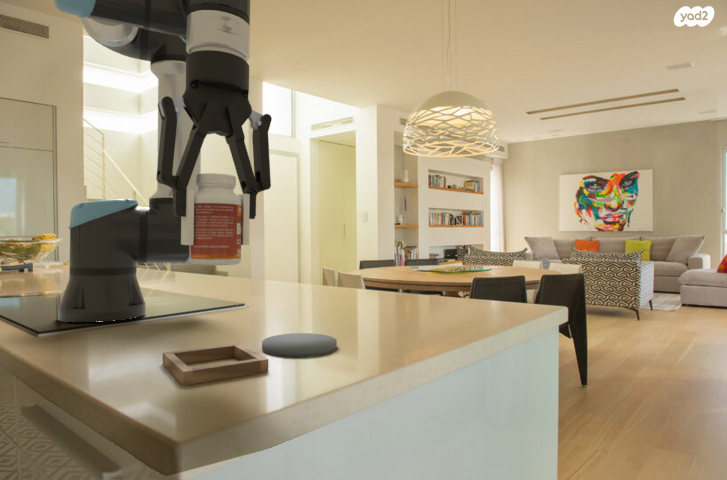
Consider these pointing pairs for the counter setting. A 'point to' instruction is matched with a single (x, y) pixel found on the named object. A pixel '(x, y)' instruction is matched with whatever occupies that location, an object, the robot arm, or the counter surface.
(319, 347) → the disc
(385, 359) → the counter surface
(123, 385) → the counter surface
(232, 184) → the pill bottle
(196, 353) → the socket
